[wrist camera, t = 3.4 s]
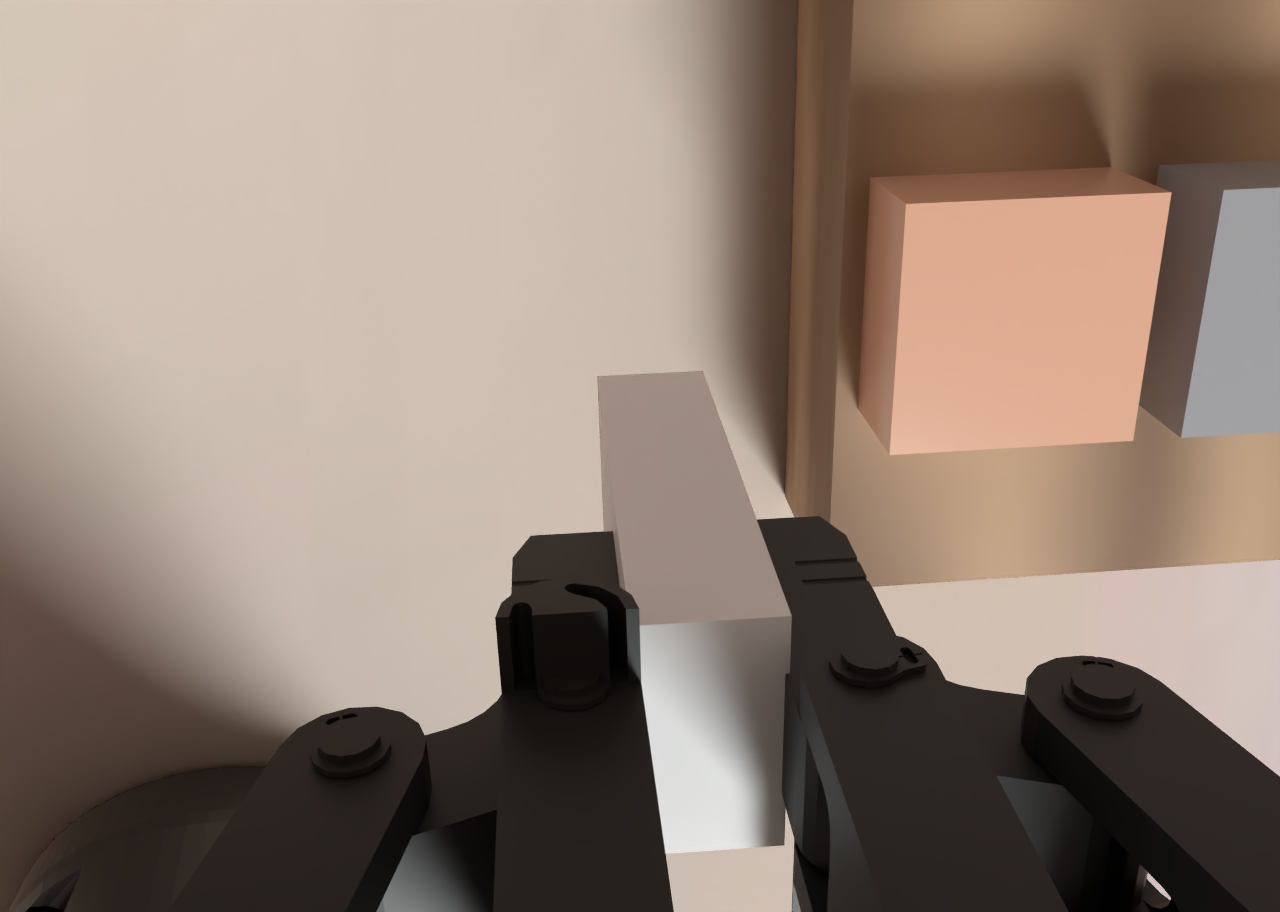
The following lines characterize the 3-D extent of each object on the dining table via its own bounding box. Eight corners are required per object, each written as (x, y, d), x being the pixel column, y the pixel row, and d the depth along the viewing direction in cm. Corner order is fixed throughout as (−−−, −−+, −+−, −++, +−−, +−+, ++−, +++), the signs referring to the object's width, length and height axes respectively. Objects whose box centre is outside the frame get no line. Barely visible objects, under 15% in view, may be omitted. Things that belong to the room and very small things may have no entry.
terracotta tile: (857, 408, 26) (889, 454, 24) (870, 177, 24) (905, 204, 22) (1081, 396, 27) (1132, 440, 24) (1111, 167, 24) (1171, 192, 22)
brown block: (784, 496, 33) (827, 589, 28) (800, -69, 27) (856, -67, 22) (1212, 470, 33) (1321, 557, 29) (1315, -83, 28) (1471, -84, 23)
